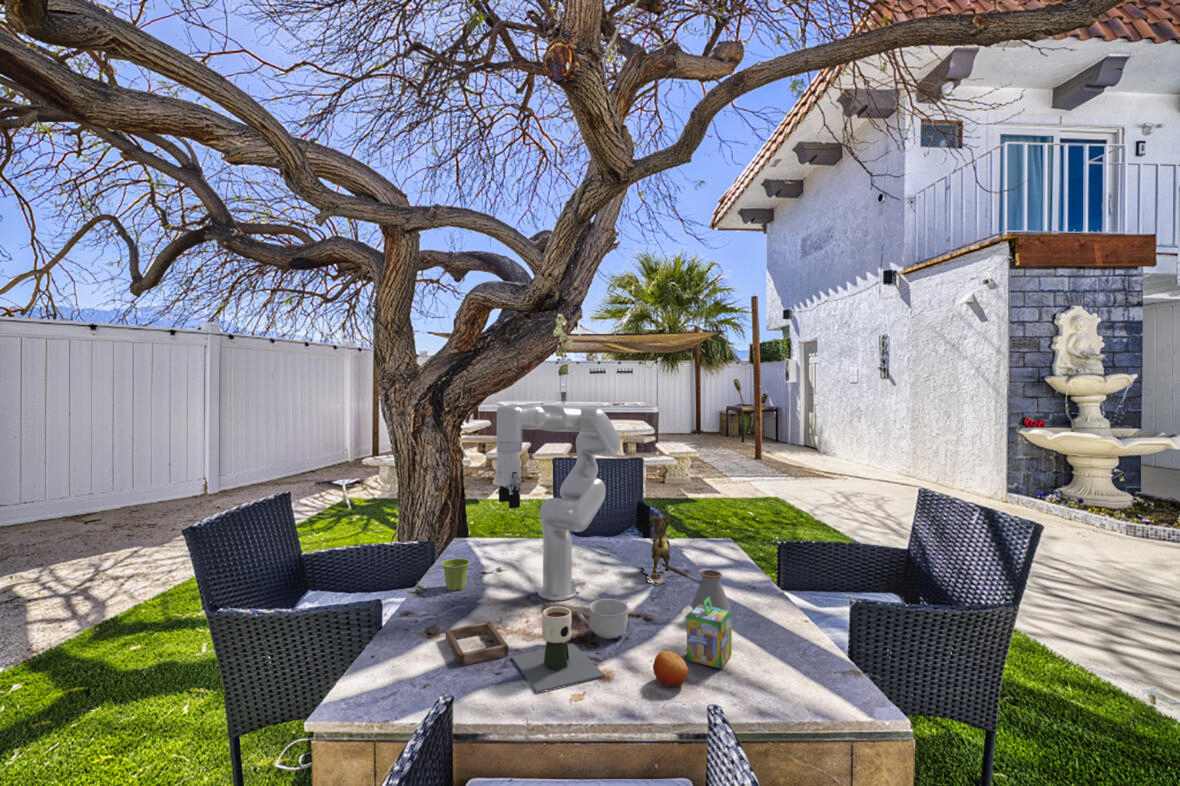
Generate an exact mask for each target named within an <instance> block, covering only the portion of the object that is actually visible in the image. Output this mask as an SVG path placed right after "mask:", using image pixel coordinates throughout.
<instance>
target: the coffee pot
mask: <svg viewBox="0 0 1180 786" xmlns="http://www.w3.org/2000/svg"><path fill="white" fill-rule="evenodd" d="M660 563H661V565H662V566H663V567H666V568H667V569H669V570H671V571H673V572H674V573H675V574H677V575H679V576H682V577H684V578H687V579H688V580H692V581H693V582H695V583H697V584H699V587H698V589H697V591H696V594H694V595H695V596H694V598H693V600H692V602H691V609H692V610H693V609H694V608H695V607H697V606H698V605H703V601H704V600H705V599H706V598H707V597H708V596H709V597H710V601H711V605H712V607H716V608H720V609H723V610H727V611H731V605H730V602H729V600H728V599H727V595H726V592H725V590H724V588H723V585H722V582H721V581H720V580H721V578H722V577H723V574H722V573H721V572H720V571H718V570H714V569H706V570H705V569H704V570H701V571H700V572H699V573H700V575H701V578H702V580H700V579H697V578H695V577H693V576H691V575H689V574H686V573H685V572H683V571H681V570H679V569H677V568H676V567H672V566H670V564H669V565H665V562H660ZM661 565H660V568H661ZM660 568H659V569H660ZM706 606H709V603H707V604H706Z"/></svg>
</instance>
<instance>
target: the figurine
mask: <svg viewBox="0 0 1180 786" xmlns="http://www.w3.org/2000/svg"><path fill="white" fill-rule="evenodd" d="M648 520H649V522H650V523H651V524H650V525H651V527H652V528H654V529H655V534H654V537H653V539H652V546H651V558H652V560H653V561H651V563H653V562H654V567H653V572H652V575H651V578H652V579H653V580H655V579H658V578H661V577H660V576H661V575H658V574H660V573H661V574H664V575H665V573H664V572H662V571H660V572H658V573H657V572H656V569H657V564H658V562H660V559H663V561H664V562H663V563H664V564H665V565H669V566H670V563H669V561H670V559H671V550H670V549H671V544H670V541H669V539H668V537H667V530H668V527H670V526H669V525H670V520H669V519H667V517H666V516H665V517H662V516H655V517H653V516H650V517H649V518H648ZM669 570H670V569H667V568H666V567H665V571H669ZM656 573H657V576H658V577H656V575H655V574H656ZM665 576H666V575H665ZM647 580H649V578H647ZM649 581H651V580H649ZM662 581H663V579H662V578H661V580H658V581H654V583H655V584H658V583H660V582H662Z"/></svg>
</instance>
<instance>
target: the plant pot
mask: <svg viewBox="0 0 1180 786" xmlns="http://www.w3.org/2000/svg"><path fill="white" fill-rule="evenodd" d="M470 563H471V561H470V560H469V559H467V558H452V559H451V558H450V559H447V560H446V559H445V560H444V561H442V562H441V567H442V568H443V570H444V571H443V572H444V579H445V586H446V589H447V590H448V591H451V592H452V591H453V592H454V591H457V590H458V591H461V590H463V589H465V588H466V584H467V583H466V582H467V576H468V575H467V573H468V568H469V566H470Z"/></svg>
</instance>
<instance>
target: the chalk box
mask: <svg viewBox="0 0 1180 786" xmlns="http://www.w3.org/2000/svg"><path fill="white" fill-rule="evenodd" d="M707 603H709V606H706V604H707ZM732 618H733V614H732V611H731V610H730V611H727V610H723V609H720V608H716V607H712V605H711V601H710V597H709V596H708V597H707V598H706V599H705V600H704V601H703V605H698V606H697V607H695V608H694V609H692V610H691V611H690V612H688V614H687V615H686V651H687V652H686V660H687V661H689V662H693V663H697V664H699V665H700V664H701V665H705V666H707V667H708V666H709V667H712V668H717V669H719V670H722V668H723V667H724V665H726V663H727V662H728V661H729V659H730V658H731V657H730V656H732V655H731V654H733V653H732V651H733V649H732V647H733V646H732V643H733V642H732V640H733V638H732V637H733V633H732V631H733V629H732V626H733V623H732Z"/></svg>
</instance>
